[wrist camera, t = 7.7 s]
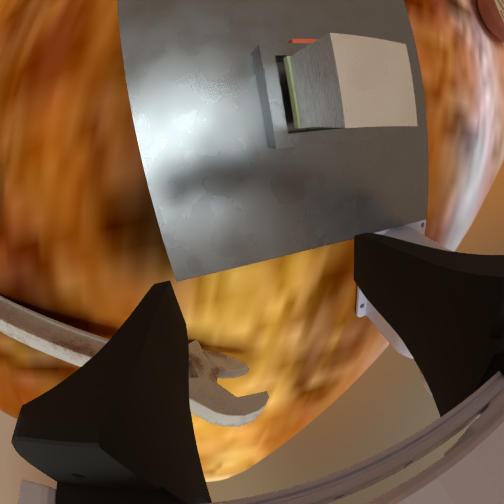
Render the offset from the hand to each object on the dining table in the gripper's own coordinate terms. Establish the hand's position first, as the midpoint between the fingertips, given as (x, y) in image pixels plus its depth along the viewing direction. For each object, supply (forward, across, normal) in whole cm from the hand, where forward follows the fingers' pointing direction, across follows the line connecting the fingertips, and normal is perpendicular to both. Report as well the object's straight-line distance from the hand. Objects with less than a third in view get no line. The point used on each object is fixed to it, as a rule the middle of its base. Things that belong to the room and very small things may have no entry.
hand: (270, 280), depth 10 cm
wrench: (+11, +14, +8) cm, 19 cm away
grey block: (+6, -6, -7) cm, 11 cm away
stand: (+10, -6, -7) cm, 14 cm away
